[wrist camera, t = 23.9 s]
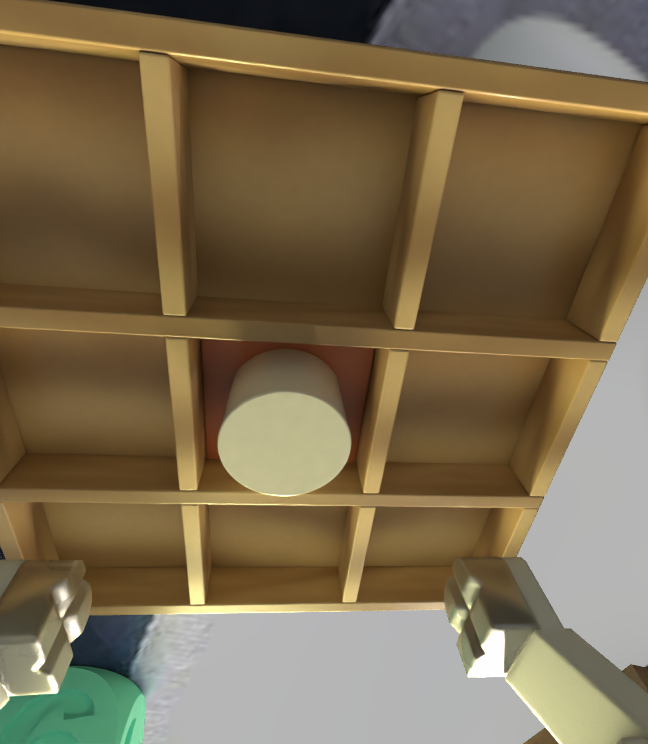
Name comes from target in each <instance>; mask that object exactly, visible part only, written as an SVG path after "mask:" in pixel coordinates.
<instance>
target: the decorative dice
mask: <svg viewBox="0 0 648 744" xmlns="http://www.w3.org/2000/svg"><path fill="white" fill-rule="evenodd" d="M9 698H10V699H9V701H8V702H7V703H6V704H5V705H4V706H3V707H2V708H1V709H0V744H142V740H143V732H144V722H145V698H144V695H143V694H142V692H141V691H140V689H139V688H138V687H137V685H136V684H134V683H133V682H132V681H131V680H129V679H128V678H126V677H124V676H122V675H120V674H117V673H115V672H112V671H109V670H105V669H100V668H95V667H87V666H69V667H68V669H67V672H66V674H65V677H64V679H63V682H62V684H61V686H60V689H59V691H58V693H52V694H37V695H23V696H9Z"/></svg>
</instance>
